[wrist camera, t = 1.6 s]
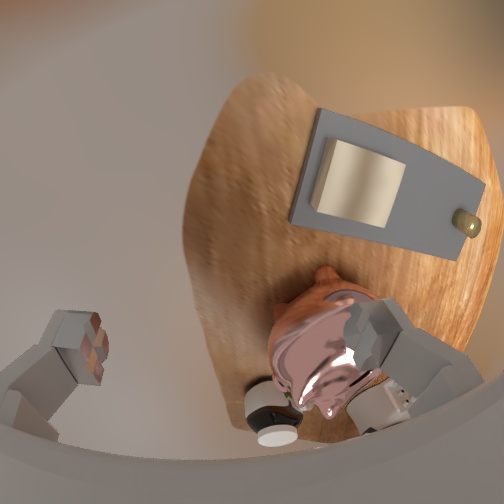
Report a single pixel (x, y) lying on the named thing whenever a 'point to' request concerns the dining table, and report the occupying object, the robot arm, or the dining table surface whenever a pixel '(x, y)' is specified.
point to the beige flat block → (356, 183)
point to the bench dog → (466, 222)
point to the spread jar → (273, 414)
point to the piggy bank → (318, 344)
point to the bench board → (408, 196)
